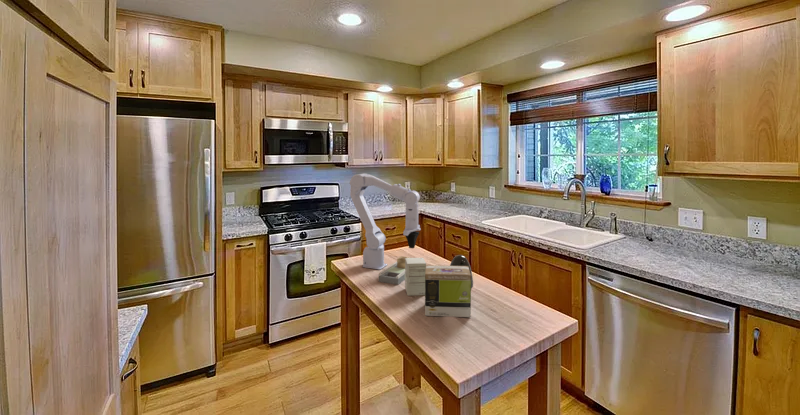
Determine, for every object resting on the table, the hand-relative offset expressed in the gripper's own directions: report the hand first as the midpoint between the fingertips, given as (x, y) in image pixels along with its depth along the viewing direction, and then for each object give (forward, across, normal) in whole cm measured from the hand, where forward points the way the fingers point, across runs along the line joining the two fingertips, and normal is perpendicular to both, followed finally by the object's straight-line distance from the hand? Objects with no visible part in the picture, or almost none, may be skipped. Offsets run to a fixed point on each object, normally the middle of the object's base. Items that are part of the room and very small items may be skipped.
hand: (411, 247), depth 163 cm
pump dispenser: (+11, -18, -27) cm, 34 cm away
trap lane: (+10, -7, +2) cm, 13 cm away
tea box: (+11, -34, -27) cm, 45 cm away
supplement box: (+11, -23, -11) cm, 28 cm away
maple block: (+8, -4, +2) cm, 9 cm away
